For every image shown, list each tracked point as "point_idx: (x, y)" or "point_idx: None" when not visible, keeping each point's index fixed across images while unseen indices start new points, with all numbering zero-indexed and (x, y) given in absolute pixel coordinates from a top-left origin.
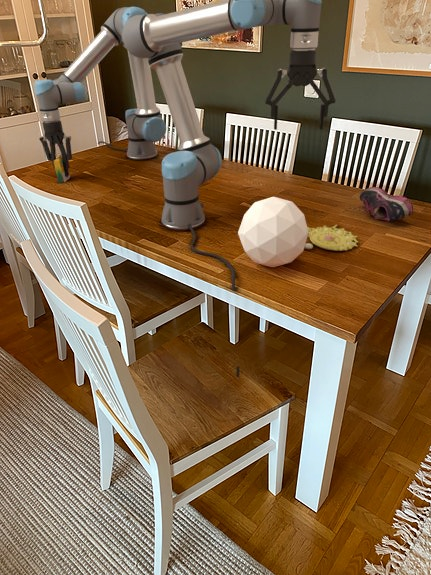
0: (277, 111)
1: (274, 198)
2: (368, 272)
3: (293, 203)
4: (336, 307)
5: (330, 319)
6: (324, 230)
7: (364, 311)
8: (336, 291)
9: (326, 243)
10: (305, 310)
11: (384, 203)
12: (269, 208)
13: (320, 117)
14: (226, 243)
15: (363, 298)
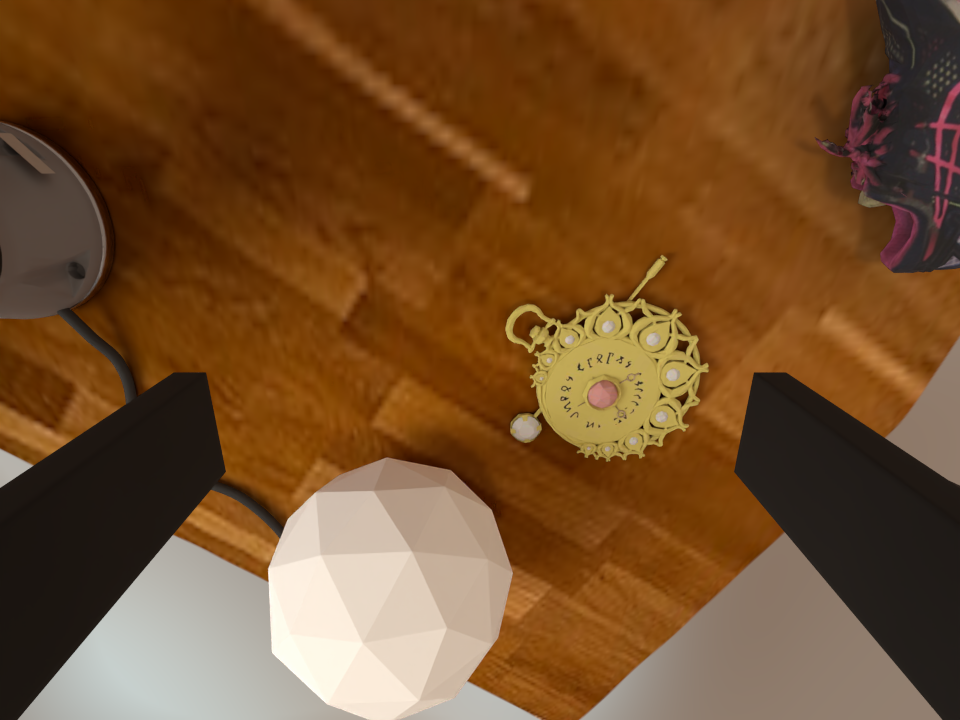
0: (70, 656)
1: (367, 660)
2: (668, 547)
3: (451, 635)
4: (550, 670)
5: (530, 701)
6: (600, 331)
7: (605, 679)
8: (563, 621)
9: (586, 424)
10: (483, 680)
11: (929, 212)
12: (354, 713)
13: (822, 509)
14: (249, 400)
15: (618, 642)
